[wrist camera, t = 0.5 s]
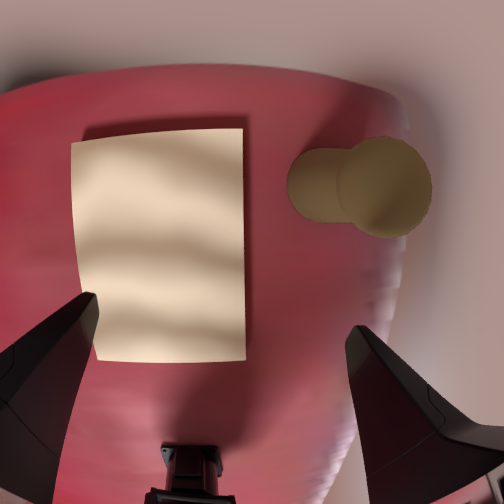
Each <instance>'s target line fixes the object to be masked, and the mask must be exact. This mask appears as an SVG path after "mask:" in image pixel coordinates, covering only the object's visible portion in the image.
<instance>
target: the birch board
mask: <svg viewBox="0 0 504 504" xmlns="http://www.w3.org/2000/svg"><path fill="white" fill-rule="evenodd" d="M71 189H72V210H73V224H74V235H75V244H76V253H77V261H78V268H79V275H80V281H81V287H82V293H83V292H85V291H88V292H92V293H95V294H96V295H97V300H98V306H99V319H98V323H97V327H96V331H95V335H94V339H93V343H94V347H95V351H96V355H97V358H98V360H105V361H123V362H152V363H194V362H224V361H243V360H246V338H245V287H244V224H243V129H199V130H179V131H164V132H152V133H142V134H132V135H124V136H116V137H108V138H101V139H95V140H88V141H82V142H77V143H72V145H71Z"/></svg>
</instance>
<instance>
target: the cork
mask: <svg viewBox="0 0 504 504" xmlns="http://www.w3.org/2000/svg"><path fill="white" fill-rule="evenodd" d="M287 191H288V195H289V199H290V201H291V203H292V204H293V206H294V208H295V209H296V210H297V211H298V212H299V213H300V214H301V215H302V216H303V217H304V218H307V219H309V220H311V221H314V222H322V223H353V224H354V225H355V226H356V227H357V228H358V229H359V230H361V231H363V232H366V233H368V234H370V235H372V236H374V237H379V238H396V237H399V236H402V235H405V234H408V233H409V232H410V231H411V230H412V229H414V228H415V227H416V226H418V225H419V224H420V223H421V221H422V220H423V218H424V217H425V215H426V214H427V212H428V209H429V206H430V203H431V197H432V184H431V177H430V173H429V170H428V168H427V166H426V163H425V161H424V160H423V159H422V157H421V156H420V155H419V153H418V152H417V151H416V150H415V149H414V148H413V147H411V146H410V145H408V144H407V143H406V142H404V141H402V140H399V139H395V138H391V137H387V136H380V137H372V138H368V139H365V140H364V141H362V142H360V143H358V144H357V145H355V146H354V147H353V148H352V149H340V148H316V149H311V150H308V151H306V152H305V153H303V154H301V155H300V156H299V157H298V158H297V159H296V160H295V161H294V163H293V164H292V166H291V168H290V171H289V173H288V178H287Z"/></svg>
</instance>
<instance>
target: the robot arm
mask: <svg viewBox="0 0 504 504" xmlns="http://www.w3.org/2000/svg"><path fill="white" fill-rule="evenodd" d="M98 319H99V306H98V300H97V295H96V294H95V293H92V292H88V291H85V292H83V293H81V294H80V295H78V296H77V297H75V298H74V299H73V300H71V301H70V302H68V303H67V304H66V305H64V306H63V307H61V308H60V309H59V310H57V311H56V312H54V313H53V314H52V315H50V316H49V317H48V318H46V319H45V320H43V321H42V322H41V323H39V324H38V325H37V326H35V327H34V328H33V329H31V330H30V331H29V332H27V333H26V334H25V335H23V336H22V337H21V338H20V339H18V340H17V341H16V342H14V344H12V345H10V346H9V347H8V348H7V349H5V350H4V351H3V352H1V353H0V504H28V501H29V502H31V503H33V504H52V501H53V494H54V488H55V482H56V477H57V472H58V467H59V462H60V460H59V459H60V457H61V452H62V448H63V443H64V439H65V435H66V431H67V427H68V424H69V420H70V416H71V413H72V409H73V406H74V402H75V399H76V396H77V392H78V389H79V386H80V383H81V380H82V377H83V374H84V371H85V368H86V365H87V362H88V359H89V356H90V352H91V347H92V343H93V339H94V335H95V331H96V327H97V323H98ZM345 351H346V360H347V369H348V378H349V384H350V389H351V394H352V399H353V404H354V409H355V414H356V419H357V424H358V430H359V435H360V440H361V446H362V453H363V458H364V465H365V472H366V477H367V478H366V479H367V486H368V494H369V501H370V504H504V427H503V426H489V425H481V424H478V423H475V422H474V421H472V420H471V419H469V418H468V417H467V416H465V415H464V414H463V413H462V412H460V411H459V410H458V409H457V408H456V407H454V406H453V405H452V404H450V403H449V402H448V401H447V400H446V399H445V398H443V397H442V396H441V395H440V394H439V393H438V392H437V391H436V390H435V389H433V388H432V387H431V386H430V385H429V384H427V382H426V381H425V380H424V379H423V378H422V377H420V375H419V374H418V373H416V372H415V371H414V370H413V369H412V368H411V367H410V366H409V365H408V364H407V363H406V362H405V361H403V360H402V359H401V358H400V357H399V356H398V355H397V354H396V353H394V351H393V350H392V349H390V348H389V347H388V346H387V345H386V344H385V343H384V342H383V341H382V340H381V339H380V338H379V337H377V336H376V335H375V334H374V333H373V332H372V331H371V330H370V329H369V328H368V327H366V326H364V325H356V326H354V327H353V329H352V331H351V332H350V334H349V336H348V337H347V339H346V341H345ZM160 450H161V453H162V456H163V459H164V462H165V464H166V467H167V477H166V487H165V490H161V489H156V488H154V487H151V491H150V492H149V493H146V495H145V502H144V504H236V501H235V497H234V495H229V496H220V495H218V479H217V477H221V476H222V471H221V465H220V458H219V452H218V447H216V446H161V449H160Z"/></svg>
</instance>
